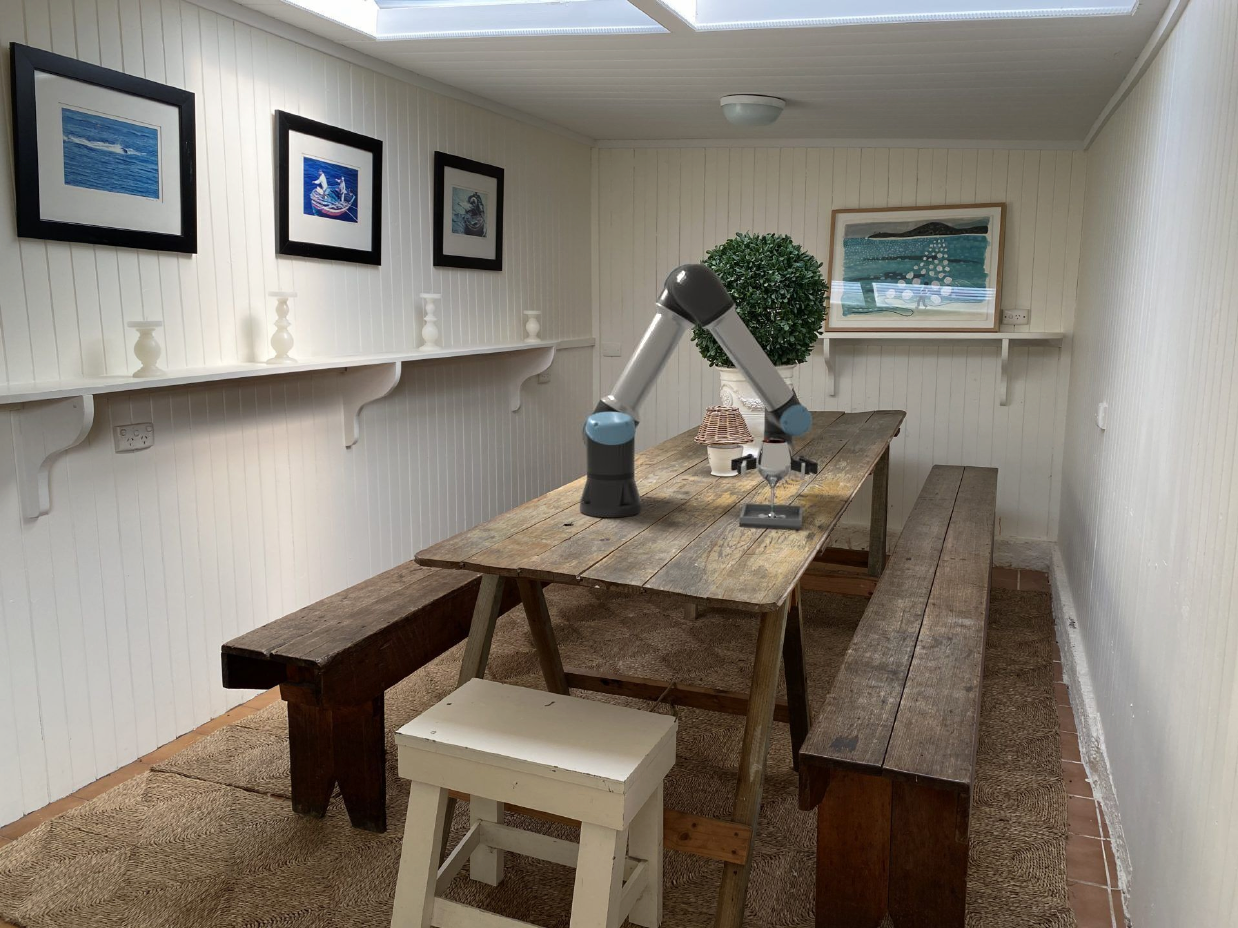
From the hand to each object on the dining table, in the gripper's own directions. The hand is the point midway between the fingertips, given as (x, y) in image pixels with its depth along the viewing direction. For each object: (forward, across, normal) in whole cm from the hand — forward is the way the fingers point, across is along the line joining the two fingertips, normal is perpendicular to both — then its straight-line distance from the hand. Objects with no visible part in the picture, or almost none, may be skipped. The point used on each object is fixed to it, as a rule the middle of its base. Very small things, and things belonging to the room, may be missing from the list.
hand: (772, 473), depth 218 cm
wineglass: (-3, 0, -11) cm, 12 cm away
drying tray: (-3, 0, -12) cm, 12 cm away
